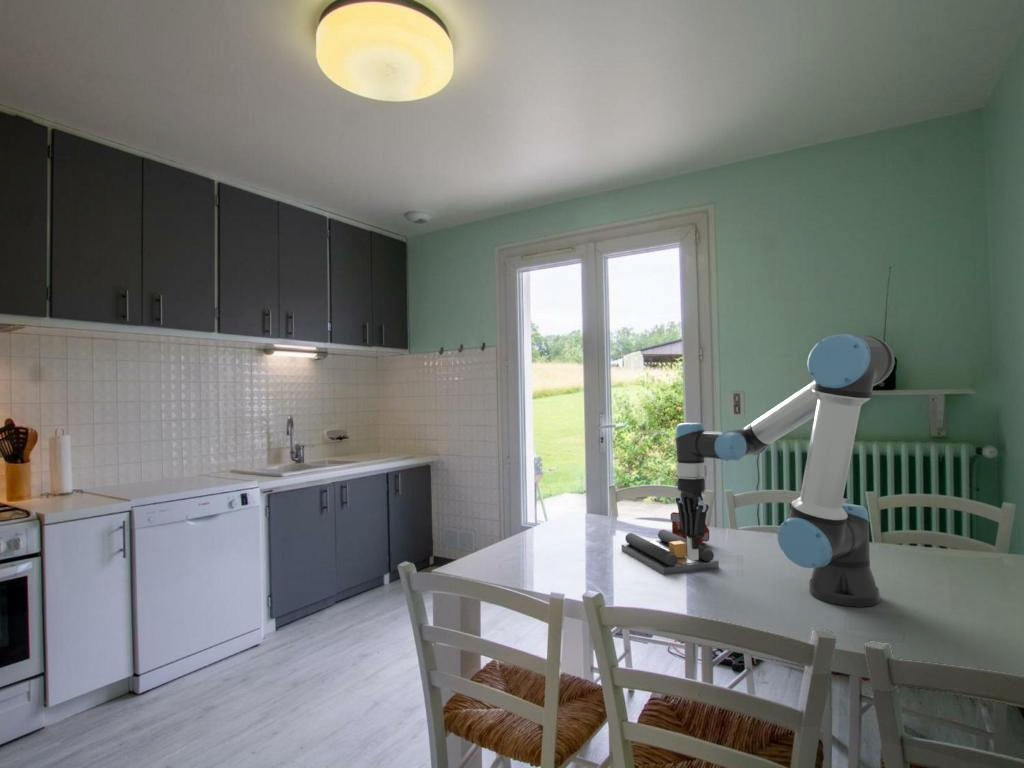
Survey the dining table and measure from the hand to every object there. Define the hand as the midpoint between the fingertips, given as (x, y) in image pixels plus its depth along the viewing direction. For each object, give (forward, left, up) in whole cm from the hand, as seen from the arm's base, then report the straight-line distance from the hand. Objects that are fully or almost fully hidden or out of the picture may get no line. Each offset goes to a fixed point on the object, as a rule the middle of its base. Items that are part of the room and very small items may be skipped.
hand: (693, 559), depth 160 cm
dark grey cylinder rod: (+14, +6, -2) cm, 15 cm away
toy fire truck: (+26, -16, -4) cm, 31 cm away
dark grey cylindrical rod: (+14, -6, -2) cm, 15 cm away
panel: (+14, 0, -4) cm, 14 cm away
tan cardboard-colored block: (+8, 0, -1) cm, 8 cm away
